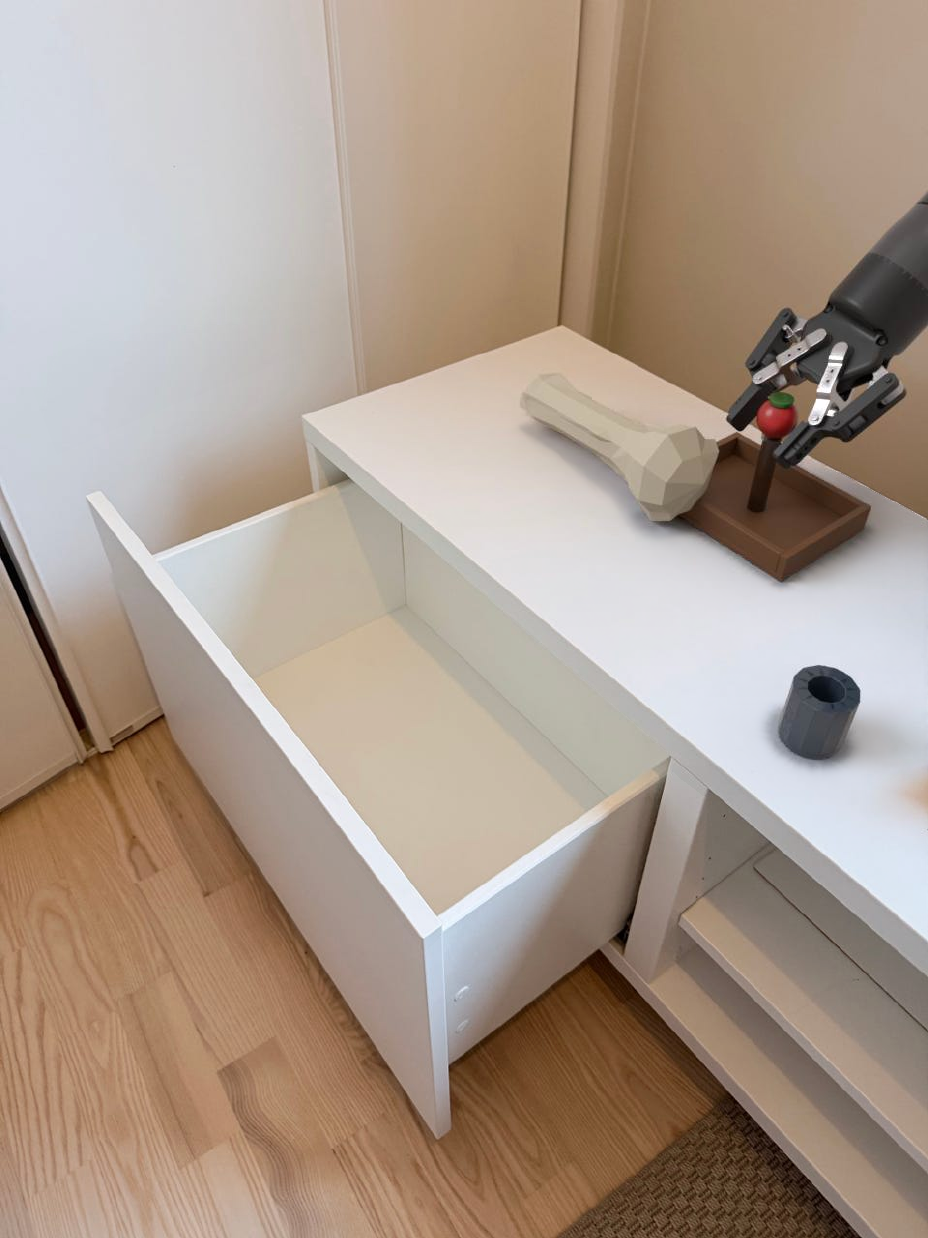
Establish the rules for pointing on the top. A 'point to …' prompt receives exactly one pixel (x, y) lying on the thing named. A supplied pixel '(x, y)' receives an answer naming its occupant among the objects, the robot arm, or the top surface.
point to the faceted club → (628, 446)
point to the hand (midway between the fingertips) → (755, 443)
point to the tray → (774, 512)
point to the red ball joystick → (771, 443)
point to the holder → (818, 712)
